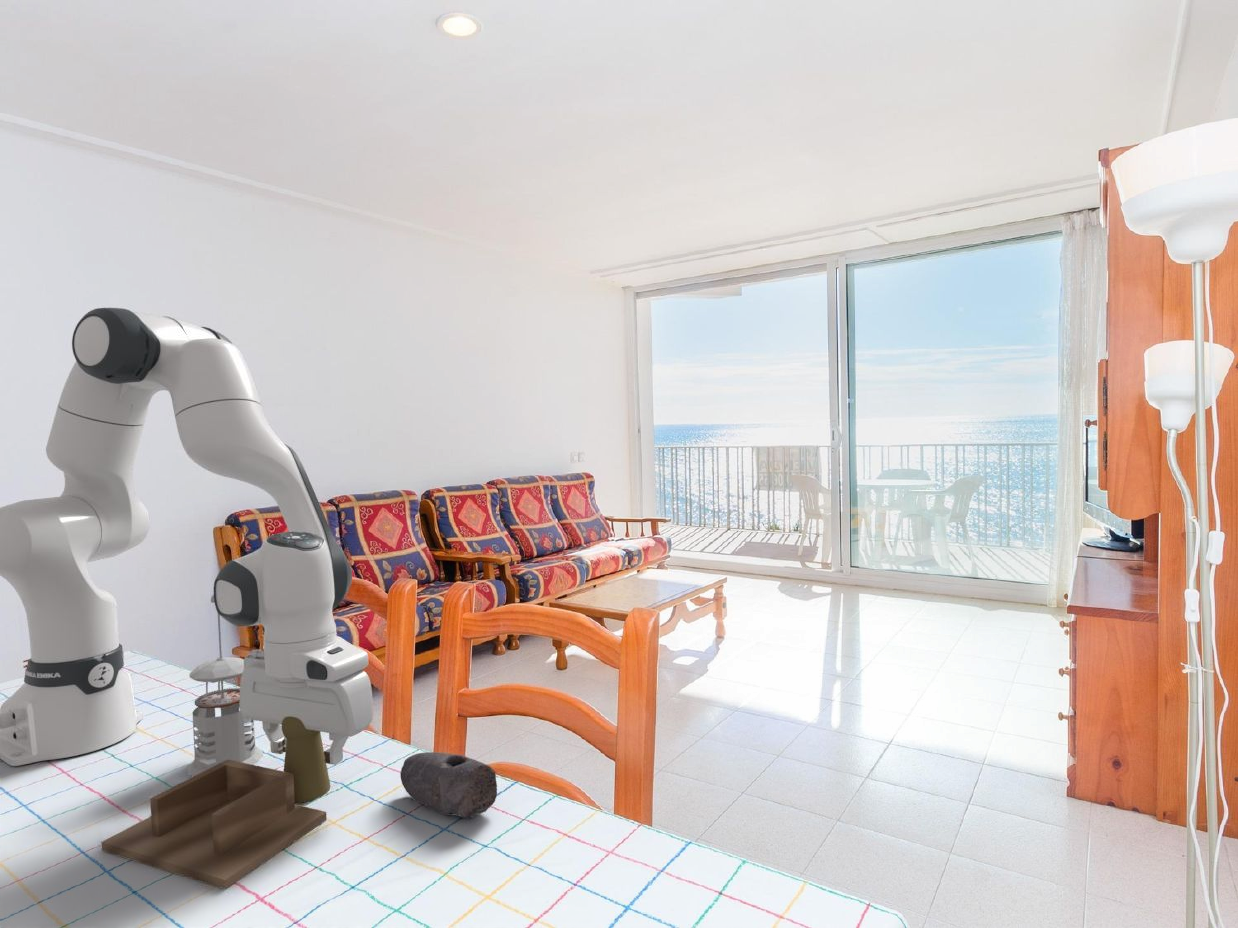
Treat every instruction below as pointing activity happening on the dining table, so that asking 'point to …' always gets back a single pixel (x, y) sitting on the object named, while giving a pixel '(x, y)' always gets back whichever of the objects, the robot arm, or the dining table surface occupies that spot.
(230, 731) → the french press
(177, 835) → the u rest
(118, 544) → the robot arm
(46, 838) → the dining table surface
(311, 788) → the cork
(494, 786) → the perforated stone tool
